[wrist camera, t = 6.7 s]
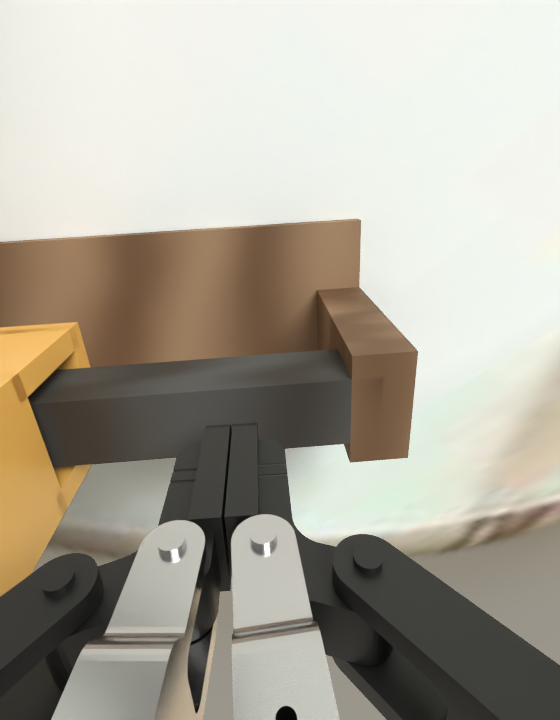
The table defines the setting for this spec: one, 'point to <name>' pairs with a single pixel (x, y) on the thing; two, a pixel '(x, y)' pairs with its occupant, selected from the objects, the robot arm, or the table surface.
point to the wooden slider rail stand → (212, 341)
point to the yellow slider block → (31, 446)
